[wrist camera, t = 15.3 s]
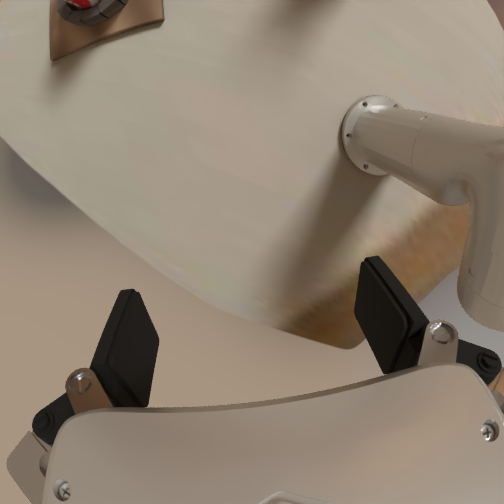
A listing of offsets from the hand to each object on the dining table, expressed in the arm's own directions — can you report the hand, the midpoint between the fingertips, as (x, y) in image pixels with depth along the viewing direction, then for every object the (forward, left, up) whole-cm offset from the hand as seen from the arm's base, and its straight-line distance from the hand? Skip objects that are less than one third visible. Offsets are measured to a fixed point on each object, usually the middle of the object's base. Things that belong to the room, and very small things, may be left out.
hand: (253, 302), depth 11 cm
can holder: (+16, -30, -30) cm, 46 cm away
